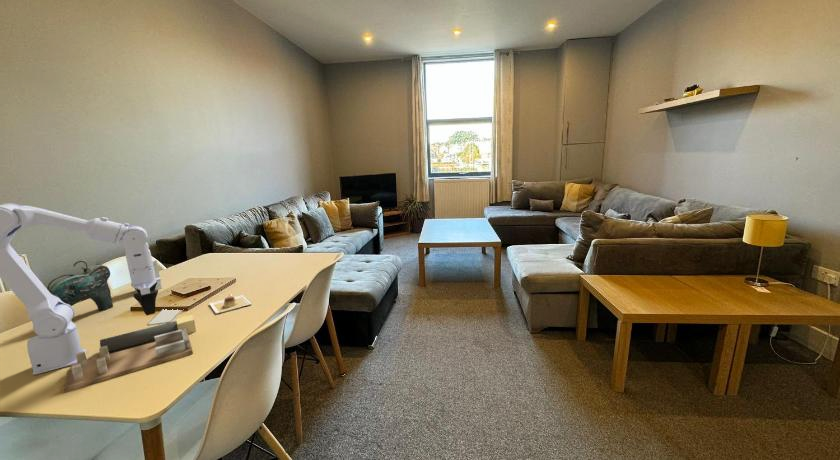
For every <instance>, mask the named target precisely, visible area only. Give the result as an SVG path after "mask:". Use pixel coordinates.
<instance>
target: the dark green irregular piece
mask: <svg viewBox="0 0 840 460" xmlns="http://www.w3.org/2000/svg"><path fill="white" fill-rule="evenodd" d="M78 263H84V264H85V266H81V269H83V271H82V272H81V273H76V274H63V275H60V276H58V277H55V278H54V279H52V280H51V281H49V283H48V285H47V287H46V288H47V290H48V291H49V292H50V293H51V294H52V295H54V296H56V297H58V298H59V299H60V300H61V301H62V302H64V303H66V304H69V305H70V306H72V307H73V306H74V305H75V304H77V303H80V302H81V301H85V300H89V299H90V300H92V301H93V302H94V303H95V305H96V307H97V309H98V310H99V311H106V310H108V309H110V308H113V307H114V305H113V304H114V303H113V299H112V296H111V294H112V293H111V289H110V287H109V284H108V280H109V278H110V276H111V271H110V268H109V267H108V266H106V265H103V264H102V263H101V262H100V261H96V264H94V265H90V266H88V265H87V262H86V261H83V260H77V261H75V262H74V264H73V265H72V266H73V267H75V266H76V265H77V264H78ZM62 277H64V278H62ZM60 278H62V279H60ZM58 279H60V280H58ZM56 280H57V281H56ZM54 281H55V282H54ZM53 282H54V283H53ZM52 283H53V284H52ZM51 284H52V285H51Z"/></svg>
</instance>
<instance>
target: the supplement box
mask: <svg viewBox="0 0 840 460" xmlns="http://www.w3.org/2000/svg"><path fill="white" fill-rule="evenodd" d="M152 262H153V267H154V271H155V276H156V278H159V277H160V271H159V265H158V260H156V259H153V258H152ZM160 278H161V277H160ZM160 289H162V280H161V281H158V282H157V285H156V288H155V290H160ZM134 290H135V292H137V290H136V289H135V288H134Z"/></svg>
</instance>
